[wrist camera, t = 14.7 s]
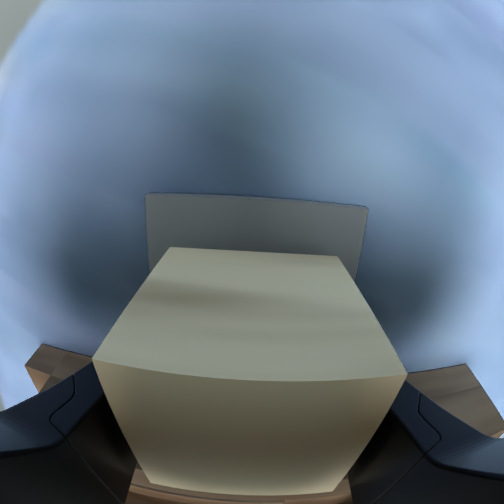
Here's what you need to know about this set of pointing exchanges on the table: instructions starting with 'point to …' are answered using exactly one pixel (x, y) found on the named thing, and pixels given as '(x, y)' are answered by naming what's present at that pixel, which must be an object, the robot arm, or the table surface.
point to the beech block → (248, 372)
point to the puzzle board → (339, 500)
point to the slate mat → (254, 226)
